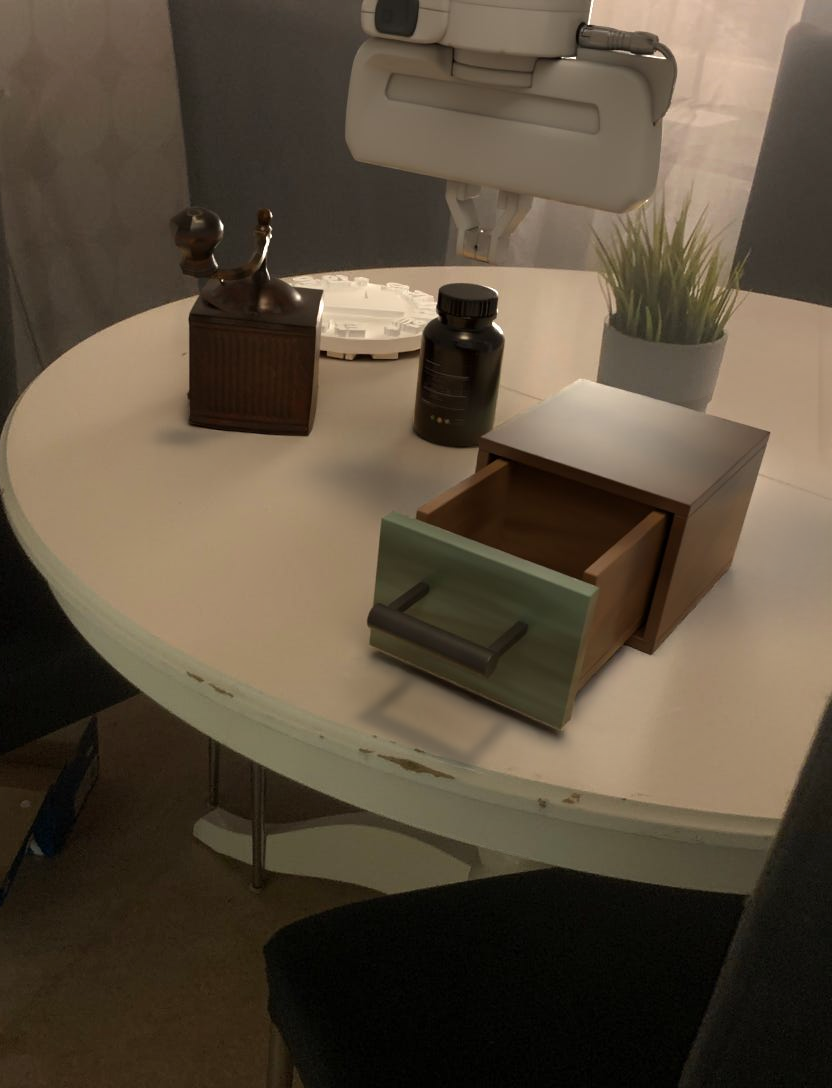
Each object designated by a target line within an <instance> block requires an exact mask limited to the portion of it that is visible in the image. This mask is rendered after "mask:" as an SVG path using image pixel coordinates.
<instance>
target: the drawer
mask: <svg viewBox="0 0 832 1088" xmlns="http://www.w3.org/2000/svg"><path fill="white" fill-rule="evenodd" d="M673 515H674V513H671V512H668V511H665V510H662V509H659V508H656V507H653V506H650V505H647V504H644V503H641V502H638V501H635V500H632V499H629V498H626V497H623V496H620V495H617V494H614V493H611V492H608V491H605V490H602V489H599V488H596V487H593V486H590V485H587V484H584V483H581V482H578V481H575V480H572V479H569V478H565V477H562V476H559V475H556V474H553V473H550V472H547V471H544V470H541V469H538V468H535V467H532V466H529V465H526V464H523V463H520V462H517V461H514V460H511V459H508V458H505V457H500V458H499V459H497V460H495V461H494V462H492V463H491V464H489V465H487V466H486V467H484V468H483V469H481V470H480V471H478V472H476V473H475V472H474V473H473V474H471V475H470V476H468V477H466V478H465V479H463V480H461V481H460V482H459V483H457V484H455V485H454V486H453V487H451V488H449V489H447V490H446V491H444V492H443V493H441V494H440V495H438V496H437V497H435V498H433V499H431V500H430V501H428V502H427V503H425V504H424V505H422V506H420V507H419V508H417V509H416V511H415V518H414V517H411V516H409V515H406V514H403V513H400V512H398V511H395V510H392V511H390V512H388V513H387V514H385V515H383V516H382V517H381V518H380V519H381V520H380V528H379V529H380V531H379V540H378V549H377V559H376V560H377V561H376V570H375V581H374V591H373V603H372V607H371V608H370V610H369V612H368V615H367V618H366V625H367V627H368V628H369V629H370V633H369V642H368V643H369V646H371V647H373V648H376V649H378V650H381V651H383V652H385V653H387V654H389V655H392V656H393V657H396V658H398V659H400V660H403V661H405V662H408V663H410V664H412V665H414V666H416V667H419V668H421V669H422V670H426V671H428V672H430V673H431V674H435V675H437V676H439V677H441V678H443V679H446V680H448V681H450V682H452V683H455V684H457V685H459V686H461V687H463V688H466V689H467V690H470V691H473V692H475V693H477V694H479V695H482V696H484V697H486V698H488V699H490V700H493V701H495V702H498V703H500V704H502V705H505V706H506V707H509V708H511V709H513V710H515V711H518V712H521V713H522V714H525V715H527V716H530V717H531V718H534V719H536V720H538V721H540V722H542V723H545V724H547V725H550V726H552V727H554V728H556V729H558V730H562V729H563V728H564V727H565V726H566V725H567V724H568V723H569V722H570V720H571V719H572V718H571V717H572V714H573V709H574V705H575V700H576V697H577V696H576V695H577V693H578V691H579V690H581V688H582V687H584V685H585V684H586V683H587V682H588V681H589V680H590V679H591V678H592V677H593V676H594V675H595V674H596V673H597V672H598V670H599V669H600V668H601V667H602V666H603V665H604V664H605V663H606V662H607V661H608V660H609V659H611V657H612V656H613V655H614V654H615V653H616V652H617V651H618V649H619V648H621V647H622V645H623V644H624V642H625V641H626V640H627V639H628V638H629V637H630V636H631V635H632V634H633V633H634V632H635V631H636V630H637V629H638V628H639V627H640V625H641V624H642V623H643V622H644V621H645V620H646V619H647V617H648V613H649V609H650V605H651V601H652V597H653V593H654V589H655V586H656V582H657V578H658V574H659V570H660V566H661V562H662V558H663V554H664V550H665V546H666V543H667V539H668V535H669V531H670V527H671V523H672V519H673Z"/></svg>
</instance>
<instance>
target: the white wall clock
mask: <svg viewBox="0 0 832 1088" xmlns="http://www.w3.org/2000/svg"><path fill="white" fill-rule="evenodd" d="M369 282H370V279H369V278H368V277H365V276H359V277H357V276H356V277H354V279H353V280H349V276H347V275H343V274H335V275H331V274H330V275H329V274H327V275H322V276H321V279H319V278H315V279H314V277H313V276H310V275H302V276H297V277H293V278H292V281H291V282H288V284H289V285H291V286H293V287H302V288H312V289H321V290H324V305H323V312H322V327H321V341H320V351H326V356H327V357H332V358H338V359H345V360H351V361H352V360H354V359H355V357H356V356H357V355H370V357H371V358H372V359H374V360H386V359H387V360H395V359H396V360H397V359H399V353H405V352H413V351H416V350H420V346H421V337H422V332H423V329H424V328H425V326H426V325H427V324H428V323H429V322H430V321H431V320H433V319H435V318H437V317H438V314H437V313H436V305H437V302H438V301H435V296H434V295H431V294H428V293H426V292H424V291H422V290H421V291H420V290H419V289H416V290H413V291H409V290H410V286H409V285H406V284H402V283H398V282H387V283H386V284H380V283H379V284H378V283H369Z"/></svg>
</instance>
